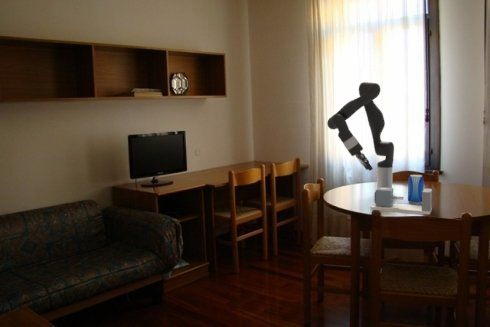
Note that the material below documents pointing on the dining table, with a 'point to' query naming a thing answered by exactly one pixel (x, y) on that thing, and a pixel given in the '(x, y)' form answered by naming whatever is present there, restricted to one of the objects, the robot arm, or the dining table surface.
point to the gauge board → (422, 209)
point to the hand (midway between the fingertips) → (369, 169)
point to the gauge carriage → (385, 197)
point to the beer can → (415, 189)
